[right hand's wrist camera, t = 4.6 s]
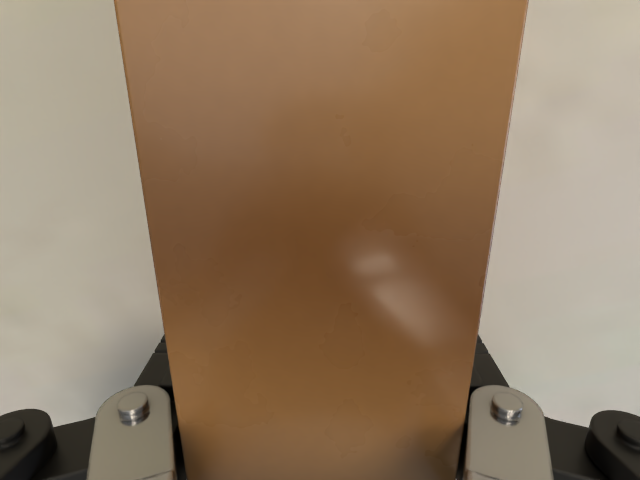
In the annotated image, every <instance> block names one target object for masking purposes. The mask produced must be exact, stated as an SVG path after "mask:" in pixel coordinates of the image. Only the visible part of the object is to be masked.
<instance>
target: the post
mask: <svg viewBox="0 0 640 480" xmlns="http://www.w3.org/2000/svg"><path fill="white" fill-rule="evenodd" d="M528 1H529V0H114V5H115V11H116V18H117V24H118V31H119V37H120V44H121V51H122V57H123V64H124V70H125V77H126V83H127V90H128V97H129V103H130V110H131V116H132V123H133V129H134V136H135V143H136V149H137V156H138V162H139V169H140V175H141V182H142V189H143V195H144V202H145V208H146V215H147V221H148V228H149V235H150V241H151V248H152V254H153V261H154V267H155V274H156V281H157V287H158V294H159V300H160V307H161V313H162V320H163V327H164V333H165V340H166V346H167V353H168V359H169V366H170V373H171V379H172V386H173V392H174V399H175V405H176V412H177V419H178V425H179V432H180V438H181V445H182V451H183V458H184V465H185V471H186V478H187V480H456V474H457V467H458V461H459V454H460V448H461V441H462V435H463V428H464V421H465V415H466V408H467V402H468V395H469V389H470V382H471V375H472V369H473V362H474V356H475V349H476V343H477V336H478V329H479V323H480V316H481V310H482V303H483V297H484V290H485V283H486V277H487V270H488V264H489V257H490V251H491V244H492V237H493V231H494V224H495V218H496V211H497V205H498V198H499V191H500V185H501V178H502V172H503V165H504V159H505V152H506V145H507V139H508V132H509V126H510V119H511V113H512V106H513V100H514V93H515V86H516V80H517V73H518V67H519V60H520V54H521V47H522V40H523V34H524V27H525V21H526V14H527V8H528Z"/></svg>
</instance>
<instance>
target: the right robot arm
mask: <svg viewBox="0 0 640 480" xmlns="http://www.w3.org/2000/svg"><path fill="white" fill-rule="evenodd" d="M186 479H187V478H186V471H185V465H184V458H183V451H182V445H181V438H180V432H179V425H178V419H177V412H176V405H175V399H174V392H173V386H172V379H171V373H170V366H169V359H168V353H167V346H166V340H165V334H164V336H163V337H162V339H161V343H159V344H158V346H157V348H156V349H155V353H153V354H152V356H151V358H150V360H149V361H148V363H147V365H146V366H145V368H144V370H143V371H142V373H141V375H140V376H139V378H138V380H137V382H136V383H135V385H134V387H130V388H127V389H125V390H122V391H120V392H118V393H116V394H114V395H113V396H111V397H110V398H109V399H107V400H106V401H105V402H104V403H103V404H102V405H101V407H100V408H99V410H98V412H97V414H96V417H94V418H91V419H87V420H83V421H79V422H74V423H70V424H66V425H61V426H57V427H53V425H52V422H51V419H50V416H49V415H48V414H47V413H46V412H44V411H42V410H38V409H24V410H18V411H13V412H10V413H7V414H4V415H2V416H0V480H186ZM456 480H640V417H639V416H636V415H633V414H630V413H627V412H622V411H615V410H607V411H601V412H598V413H596V414H595V415H594V416H593V417H592V419H591V422H590V425H589V428H587V427H583V426H579V425H574V424H570V423H566V422H561V421H557V420H554V419H550V418H548V417H545V416H544V414H543V412H542V410H541V408H540V407H539V405H538V404H537V403H536V402H535V401H534V400H533V399H531V398H530V397H529V396H527V395H526V394H524V393H522V392H520V391H518V390H515V389H513V388H510V387H509V385H508V384H507V382H506V380H505V379H504V377H503V375H502V374H501V372H500V370H499V369H498V367H497V365H496V364H495V362H494V360H493V359H492V357H491V355H490V354H488V350H487V349H486V347H485V345H484V343H482V340H481V338H480V337H479V335H478V336H477V343H476V349H475V356H474V362H473V369H472V375H471V382H470V389H469V395H468V402H467V408H466V415H465V421H464V428H463V435H462V441H461V448H460V454H459V461H458V467H457V474H456Z"/></svg>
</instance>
